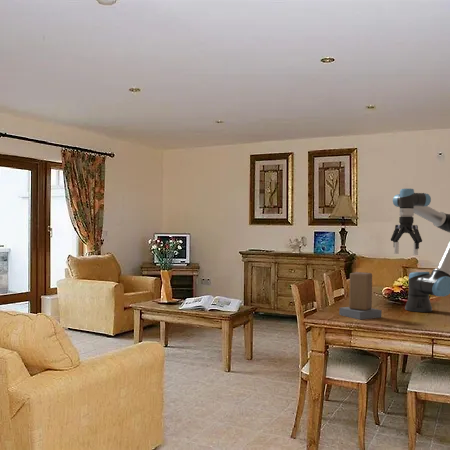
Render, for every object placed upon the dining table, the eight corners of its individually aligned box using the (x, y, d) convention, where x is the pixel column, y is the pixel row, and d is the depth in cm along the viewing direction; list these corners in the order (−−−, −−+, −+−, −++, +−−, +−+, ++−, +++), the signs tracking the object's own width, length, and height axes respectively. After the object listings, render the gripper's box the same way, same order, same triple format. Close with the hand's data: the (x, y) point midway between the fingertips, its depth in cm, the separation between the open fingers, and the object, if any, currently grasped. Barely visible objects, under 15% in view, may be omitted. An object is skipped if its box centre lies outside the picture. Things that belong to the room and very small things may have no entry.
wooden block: (372, 308, 291) (372, 272, 291) (366, 311, 283) (367, 274, 283) (354, 306, 297) (355, 271, 297) (348, 309, 289) (349, 272, 289)
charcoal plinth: (360, 312, 301) (360, 305, 301) (381, 317, 287) (381, 310, 287) (339, 314, 293) (339, 307, 293) (359, 319, 279) (359, 312, 279)
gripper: (384, 216, 301) (384, 253, 301) (419, 216, 279) (419, 255, 279) (394, 216, 304) (393, 252, 304) (429, 216, 282) (428, 255, 283)
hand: (405, 254), depth 292 cm, fingers open, 13 cm apart
